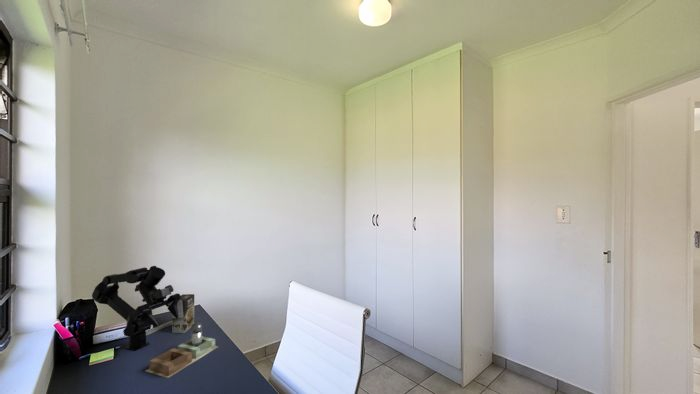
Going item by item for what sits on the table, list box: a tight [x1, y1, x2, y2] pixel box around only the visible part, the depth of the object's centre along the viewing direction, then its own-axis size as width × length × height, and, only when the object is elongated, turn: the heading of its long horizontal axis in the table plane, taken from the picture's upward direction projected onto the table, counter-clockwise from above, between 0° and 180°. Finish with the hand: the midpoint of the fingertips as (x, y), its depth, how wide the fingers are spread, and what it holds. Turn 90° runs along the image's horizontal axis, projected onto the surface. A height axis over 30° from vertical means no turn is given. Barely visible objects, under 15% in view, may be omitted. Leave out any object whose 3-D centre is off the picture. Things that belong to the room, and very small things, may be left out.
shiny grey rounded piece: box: [190, 322, 203, 347], centre depth 126 cm, size 4×4×11 cm
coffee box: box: [171, 293, 195, 334], centre depth 149 cm, size 9×6×16 cm
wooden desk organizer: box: [145, 335, 219, 379], centre depth 121 cm, size 12×24×4 cm, turn 160°
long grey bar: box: [145, 319, 172, 337], centre depth 152 cm, size 25×6×2 cm, turn 153°
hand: (168, 321), depth 125 cm, fingers open, 9 cm apart
